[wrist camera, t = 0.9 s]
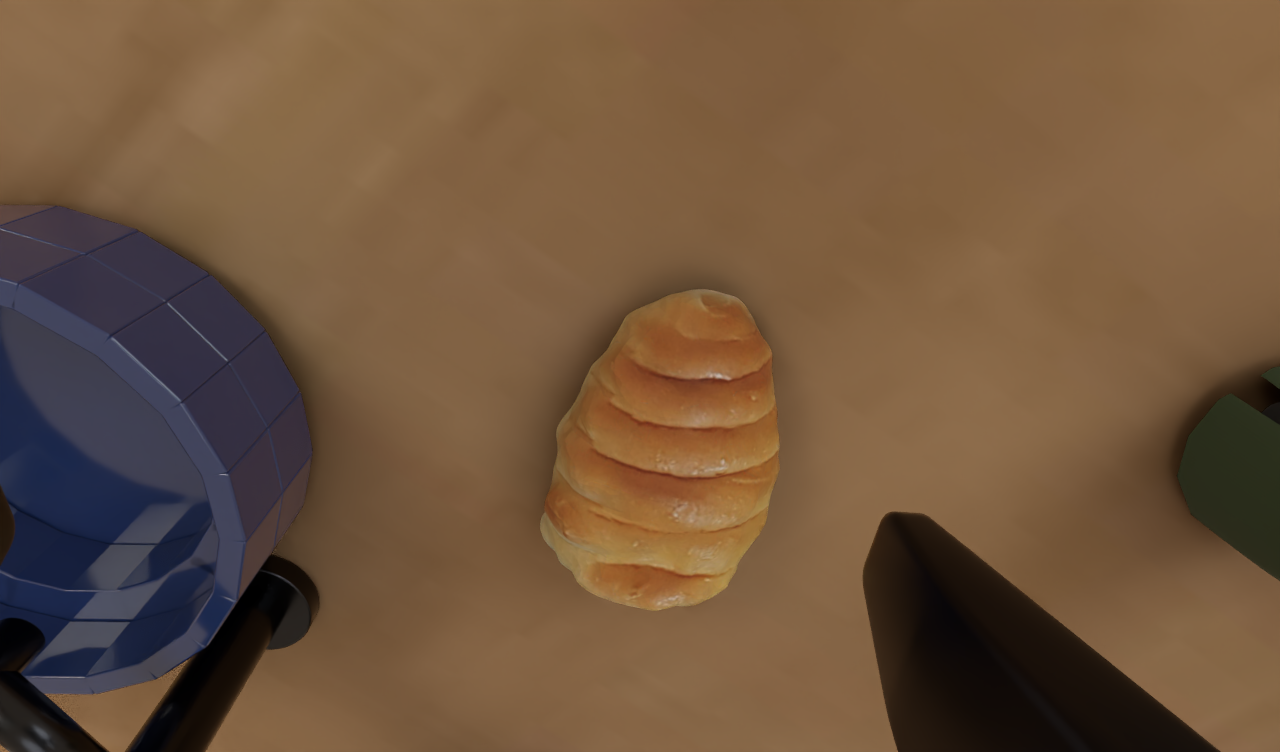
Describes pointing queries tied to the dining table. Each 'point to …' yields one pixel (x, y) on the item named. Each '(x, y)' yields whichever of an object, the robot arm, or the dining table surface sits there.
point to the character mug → (1237, 476)
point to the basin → (133, 448)
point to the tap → (197, 699)
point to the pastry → (667, 455)
